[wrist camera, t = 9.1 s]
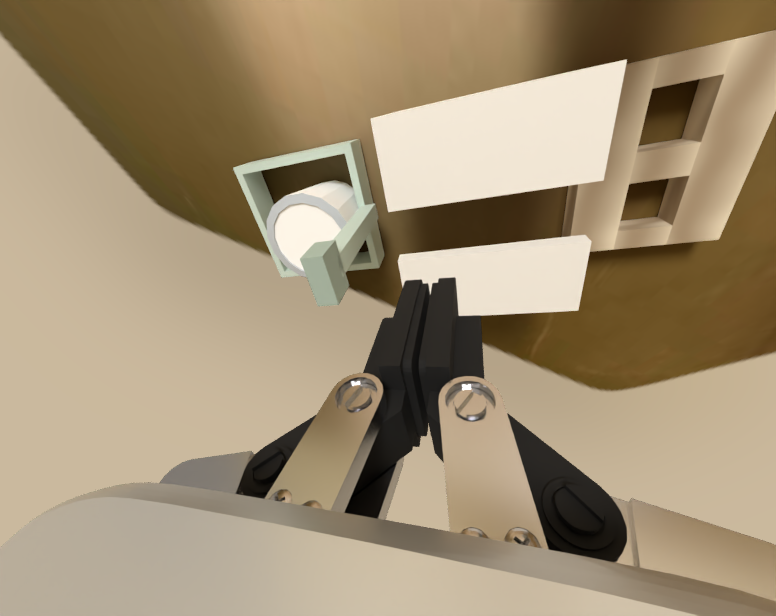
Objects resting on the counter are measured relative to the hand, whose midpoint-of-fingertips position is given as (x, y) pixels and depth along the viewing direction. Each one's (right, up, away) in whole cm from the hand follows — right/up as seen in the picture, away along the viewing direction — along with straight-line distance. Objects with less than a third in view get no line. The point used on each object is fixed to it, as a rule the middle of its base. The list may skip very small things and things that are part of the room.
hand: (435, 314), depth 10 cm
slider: (-8, +10, +18) cm, 22 cm away
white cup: (-6, +9, +18) cm, 21 cm away
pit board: (+17, +11, +11) cm, 23 cm away
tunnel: (+6, +10, +14) cm, 18 cm away
